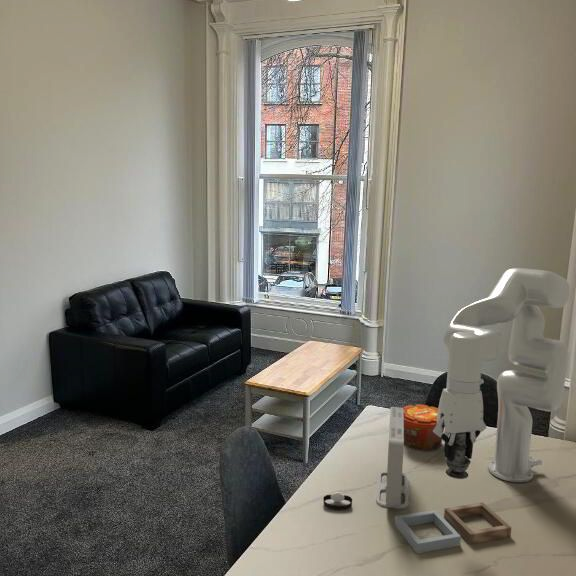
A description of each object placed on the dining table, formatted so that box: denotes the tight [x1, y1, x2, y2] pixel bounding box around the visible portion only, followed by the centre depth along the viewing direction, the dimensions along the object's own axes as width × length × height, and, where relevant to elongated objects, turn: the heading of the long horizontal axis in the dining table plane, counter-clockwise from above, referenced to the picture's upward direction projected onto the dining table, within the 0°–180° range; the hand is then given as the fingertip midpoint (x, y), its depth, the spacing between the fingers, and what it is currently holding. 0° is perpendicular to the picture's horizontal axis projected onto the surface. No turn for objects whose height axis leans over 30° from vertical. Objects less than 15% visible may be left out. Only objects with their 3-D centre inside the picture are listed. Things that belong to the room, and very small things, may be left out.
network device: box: [375, 406, 410, 510], centre depth 153 cm, size 26×9×20 cm, turn 168°
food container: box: [402, 404, 445, 452], centre depth 184 cm, size 16×16×11 cm
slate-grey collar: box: [394, 509, 462, 554], centre depth 134 cm, size 11×11×2 cm
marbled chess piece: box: [444, 432, 472, 480], centre depth 132 cm, size 6×6×12 cm
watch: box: [322, 491, 353, 511], centre depth 146 cm, size 8×5×4 cm, turn 87°
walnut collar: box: [443, 502, 512, 545], centre depth 138 cm, size 11×11×2 cm
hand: (457, 456), depth 133 cm, fingers closed on marbled chess piece, 4 cm apart
